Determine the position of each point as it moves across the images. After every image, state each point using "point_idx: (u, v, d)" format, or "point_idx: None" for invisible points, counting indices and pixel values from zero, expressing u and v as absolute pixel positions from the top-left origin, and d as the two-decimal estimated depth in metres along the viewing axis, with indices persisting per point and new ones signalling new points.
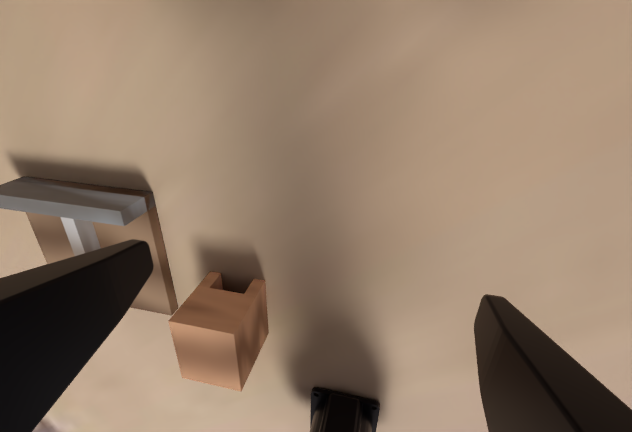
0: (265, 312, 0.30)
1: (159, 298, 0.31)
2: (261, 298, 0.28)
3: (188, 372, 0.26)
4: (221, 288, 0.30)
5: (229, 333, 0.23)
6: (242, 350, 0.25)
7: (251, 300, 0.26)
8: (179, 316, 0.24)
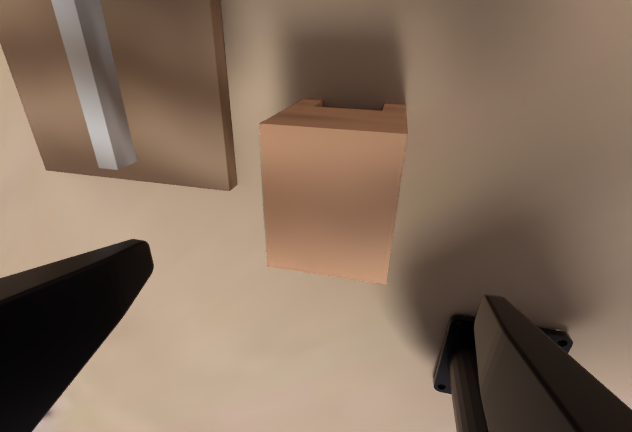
0: None
1: (211, 158, 0.18)
2: None
3: (282, 252, 0.14)
4: None
5: (397, 133, 0.11)
6: None
7: (402, 114, 0.14)
8: (278, 120, 0.12)
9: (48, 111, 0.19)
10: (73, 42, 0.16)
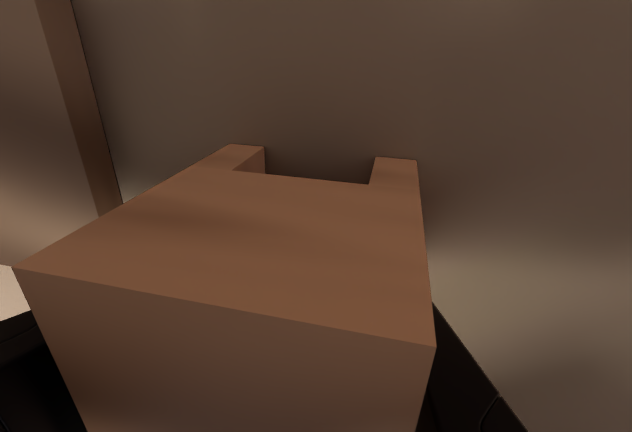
0: None
1: None
2: None
3: None
4: None
5: (401, 339, 0.03)
6: None
7: (413, 200, 0.06)
8: (84, 247, 0.05)
9: None
10: None
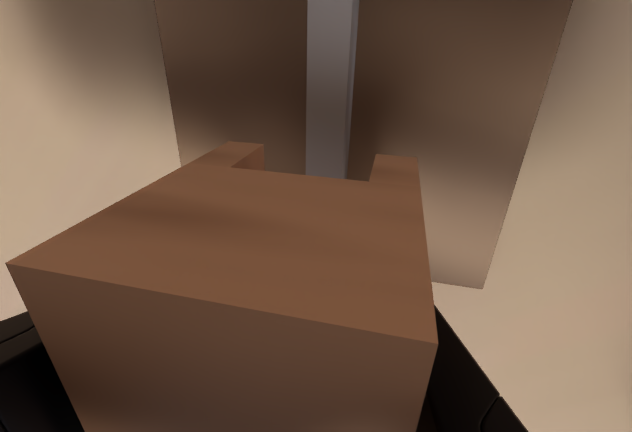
0: None
1: (469, 246, 0.13)
2: None
3: None
4: None
5: (403, 335, 0.03)
6: None
7: (413, 197, 0.06)
8: (80, 243, 0.04)
9: None
10: (325, 88, 0.10)
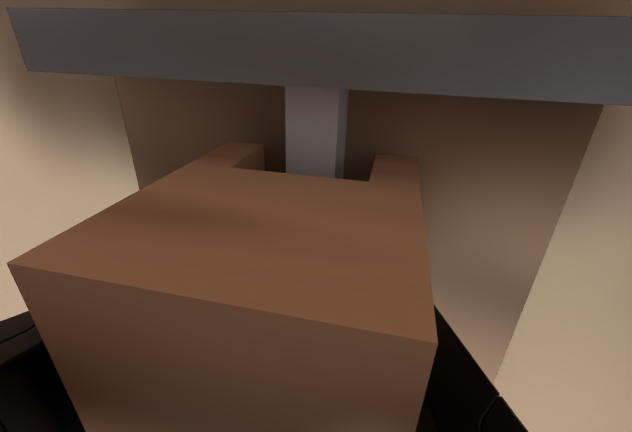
0: None
1: None
2: None
3: None
4: None
5: (403, 336, 0.03)
6: None
7: (413, 197, 0.06)
8: (81, 243, 0.05)
9: None
10: None
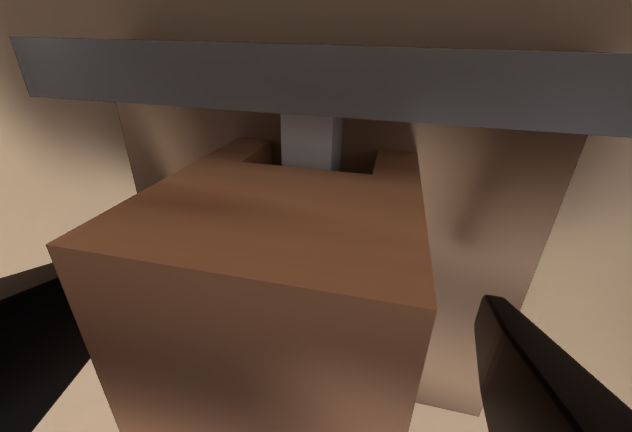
0: None
1: (464, 377, 0.12)
2: None
3: None
4: None
5: (406, 303, 0.04)
6: None
7: (414, 188, 0.07)
8: (111, 228, 0.05)
9: None
10: None
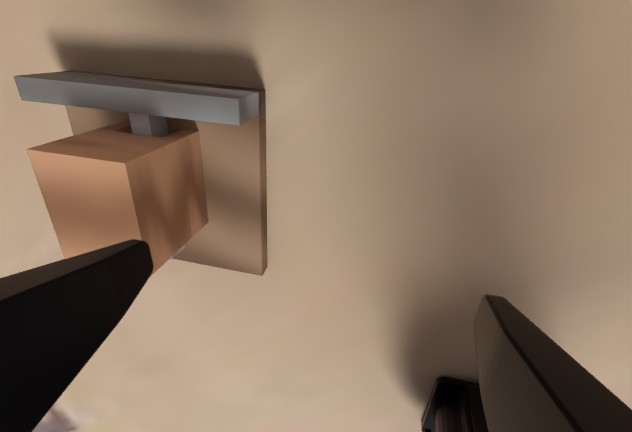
0: (202, 185, 0.21)
1: (249, 251, 0.23)
2: (191, 154, 0.19)
3: (71, 249, 0.17)
4: None
5: (118, 162, 0.14)
6: (149, 209, 0.16)
7: (170, 141, 0.17)
8: (47, 146, 0.16)
9: None
10: None
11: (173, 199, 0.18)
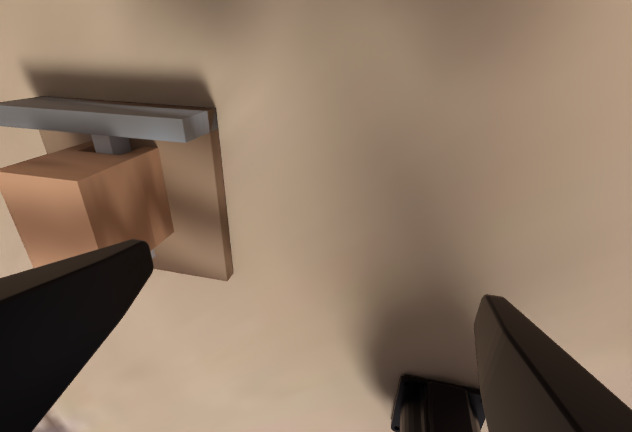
0: (164, 197, 0.22)
1: (213, 258, 0.24)
2: (151, 169, 0.21)
3: (39, 260, 0.19)
4: None
5: (71, 180, 0.16)
6: (106, 221, 0.18)
7: (126, 159, 0.19)
8: (11, 168, 0.17)
9: None
10: None
11: (132, 212, 0.20)
